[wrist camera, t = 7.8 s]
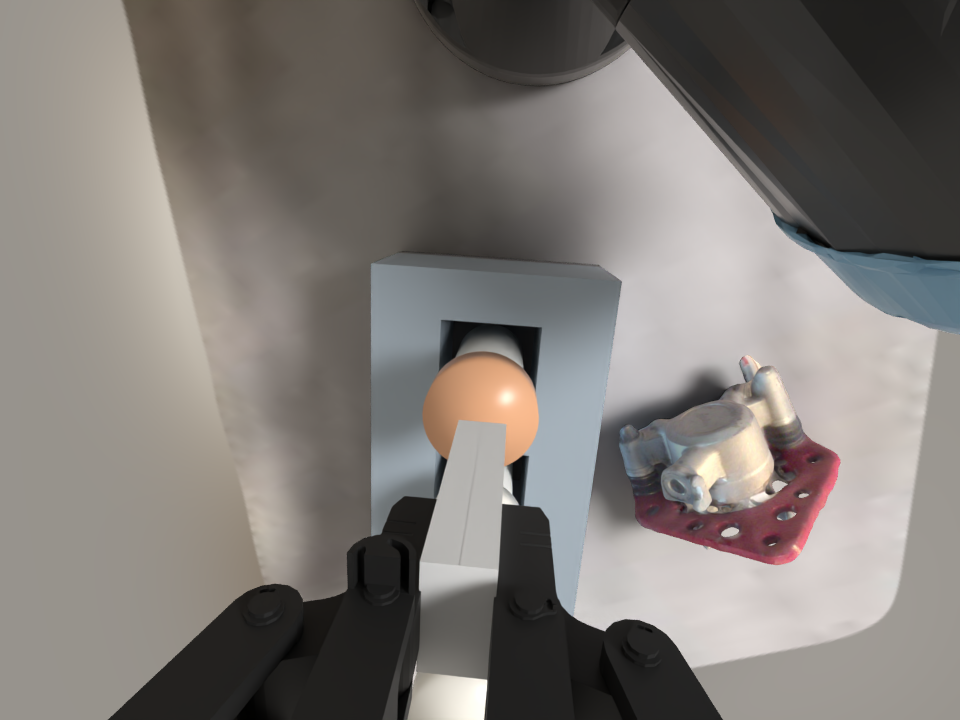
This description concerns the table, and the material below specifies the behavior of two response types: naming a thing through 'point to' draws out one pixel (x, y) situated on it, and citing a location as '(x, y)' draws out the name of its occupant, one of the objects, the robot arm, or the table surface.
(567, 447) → the blue peg holder block
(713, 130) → the robot arm
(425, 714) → the cream plunger
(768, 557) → the brake caliper
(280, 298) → the table surface
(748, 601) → the table surface
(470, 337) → the peach ball knob
